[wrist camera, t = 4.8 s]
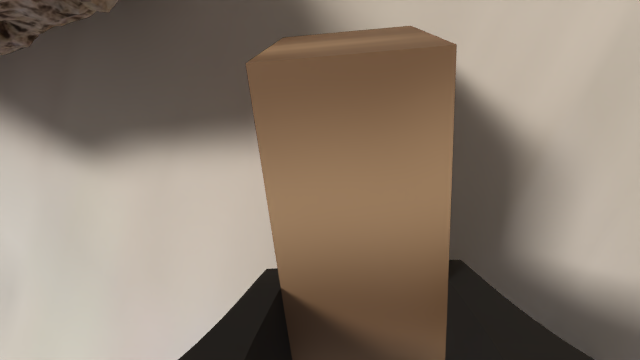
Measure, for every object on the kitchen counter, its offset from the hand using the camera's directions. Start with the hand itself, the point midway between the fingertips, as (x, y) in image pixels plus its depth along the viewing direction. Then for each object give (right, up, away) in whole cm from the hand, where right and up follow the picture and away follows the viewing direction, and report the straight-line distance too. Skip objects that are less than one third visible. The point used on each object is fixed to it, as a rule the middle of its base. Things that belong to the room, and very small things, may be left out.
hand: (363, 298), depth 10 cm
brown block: (0, +2, +3) cm, 4 cm away
